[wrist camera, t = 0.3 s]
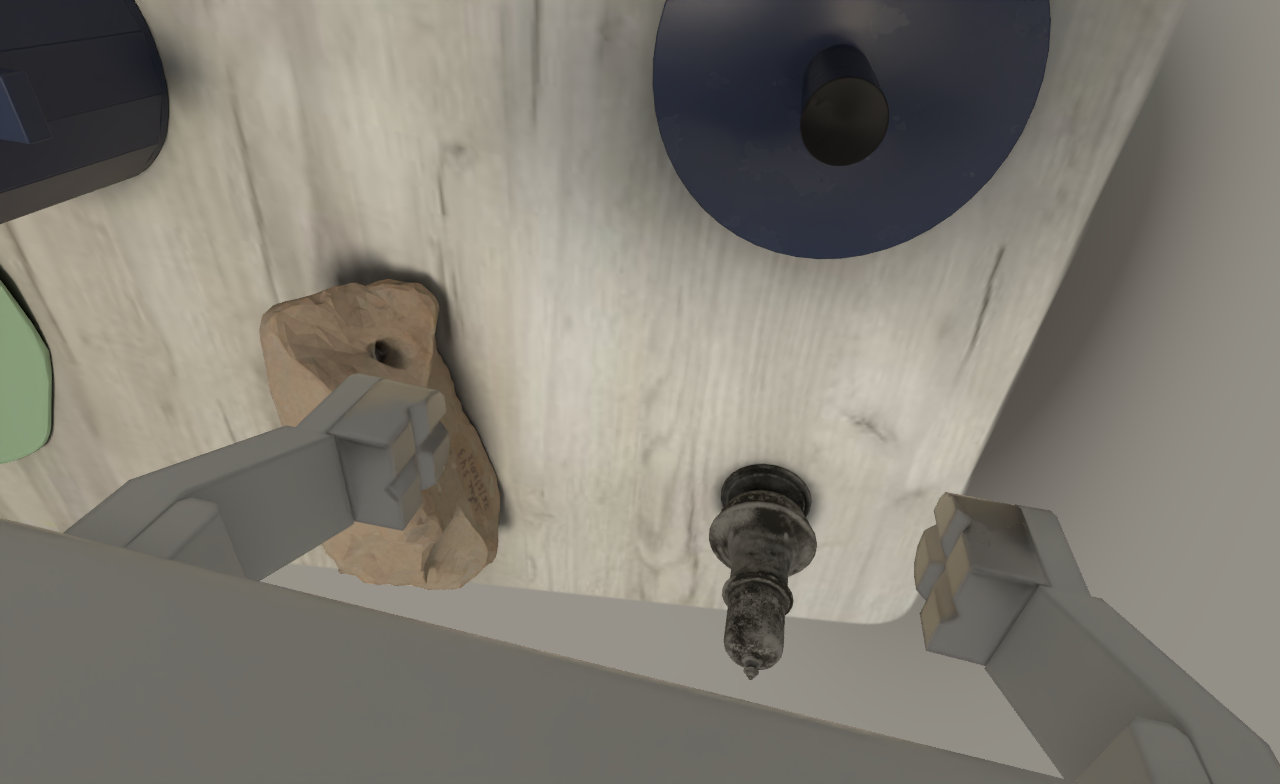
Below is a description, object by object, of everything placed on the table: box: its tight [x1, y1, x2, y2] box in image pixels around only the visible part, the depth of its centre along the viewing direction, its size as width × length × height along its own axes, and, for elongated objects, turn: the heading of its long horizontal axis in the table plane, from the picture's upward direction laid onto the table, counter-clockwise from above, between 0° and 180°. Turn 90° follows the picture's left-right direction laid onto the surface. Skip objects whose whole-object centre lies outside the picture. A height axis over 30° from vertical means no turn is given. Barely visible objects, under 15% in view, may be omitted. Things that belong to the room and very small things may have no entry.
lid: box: [653, 0, 1051, 259], centre depth 24 cm, size 15×15×8 cm
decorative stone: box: [260, 279, 500, 590], centre depth 37 cm, size 20×8×10 cm, turn 10°
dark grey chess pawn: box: [709, 464, 817, 680], centre depth 35 cm, size 6×6×12 cm
